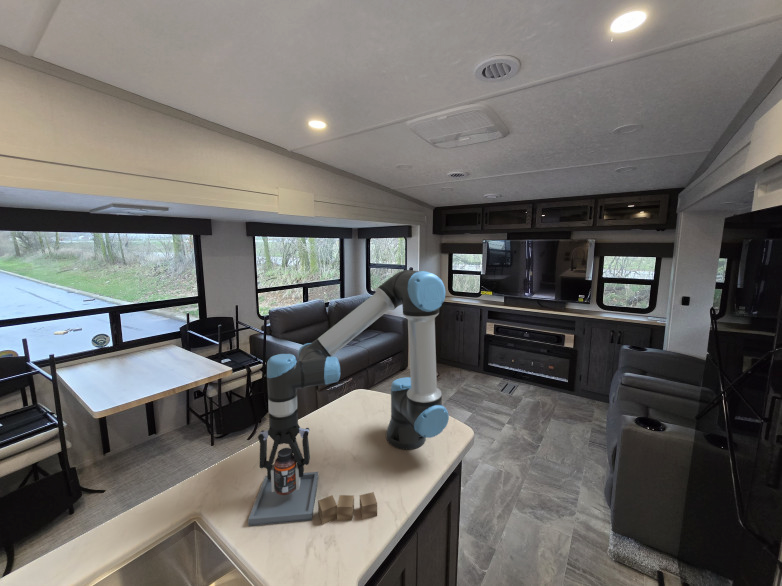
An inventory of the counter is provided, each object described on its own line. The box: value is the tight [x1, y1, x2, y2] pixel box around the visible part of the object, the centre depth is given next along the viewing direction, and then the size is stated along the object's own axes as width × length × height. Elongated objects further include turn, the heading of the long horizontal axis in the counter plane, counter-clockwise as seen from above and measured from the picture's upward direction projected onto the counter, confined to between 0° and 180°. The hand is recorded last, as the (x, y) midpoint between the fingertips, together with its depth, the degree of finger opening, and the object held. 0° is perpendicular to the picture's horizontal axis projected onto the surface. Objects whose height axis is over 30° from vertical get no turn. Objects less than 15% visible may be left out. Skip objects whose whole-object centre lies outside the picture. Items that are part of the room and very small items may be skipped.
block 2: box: [336, 494, 355, 521], centre depth 84 cm, size 4×4×4 cm
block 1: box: [317, 494, 338, 525], centre depth 83 cm, size 4×4×4 cm
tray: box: [247, 471, 320, 527], centre depth 89 cm, size 16×16×2 cm
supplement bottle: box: [273, 447, 297, 495], centre depth 88 cm, size 6×6×11 cm
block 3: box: [359, 491, 378, 520], centre depth 85 cm, size 4×4×4 cm
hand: (286, 487), depth 89 cm, fingers closed on supplement bottle, 6 cm apart
